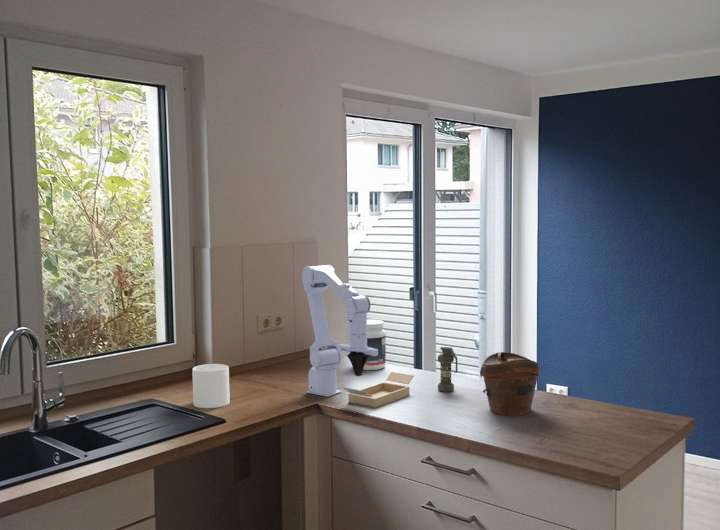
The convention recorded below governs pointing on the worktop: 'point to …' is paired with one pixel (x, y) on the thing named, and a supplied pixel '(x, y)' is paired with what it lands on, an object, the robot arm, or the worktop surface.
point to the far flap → (400, 378)
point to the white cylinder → (211, 386)
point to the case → (509, 383)
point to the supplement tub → (376, 345)
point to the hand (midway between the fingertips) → (358, 375)
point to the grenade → (446, 369)
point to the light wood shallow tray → (379, 395)
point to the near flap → (357, 392)
